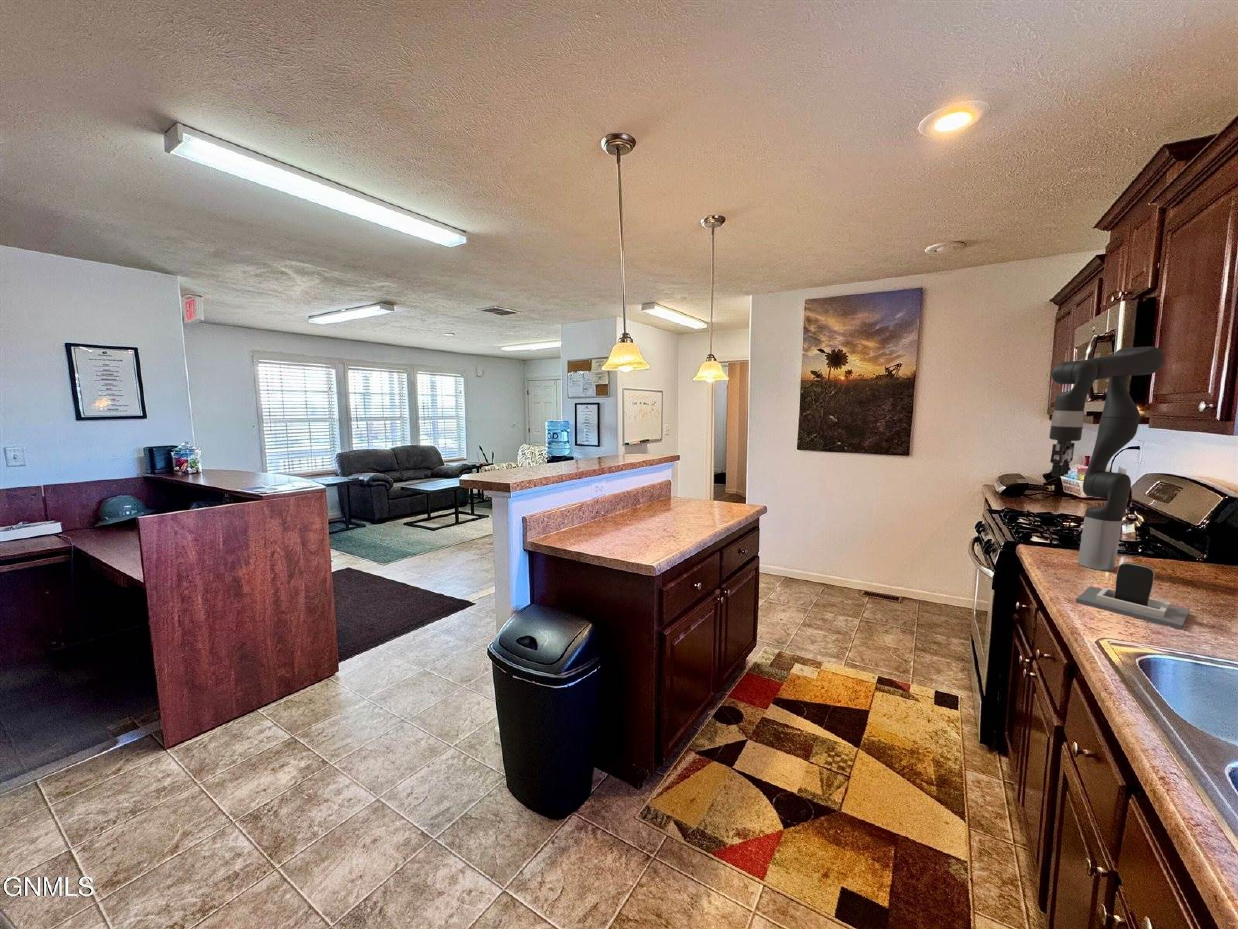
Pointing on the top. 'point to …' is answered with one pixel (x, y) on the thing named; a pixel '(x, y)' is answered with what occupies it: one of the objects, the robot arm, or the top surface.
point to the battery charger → (1134, 583)
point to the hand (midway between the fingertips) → (1059, 475)
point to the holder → (1135, 607)
